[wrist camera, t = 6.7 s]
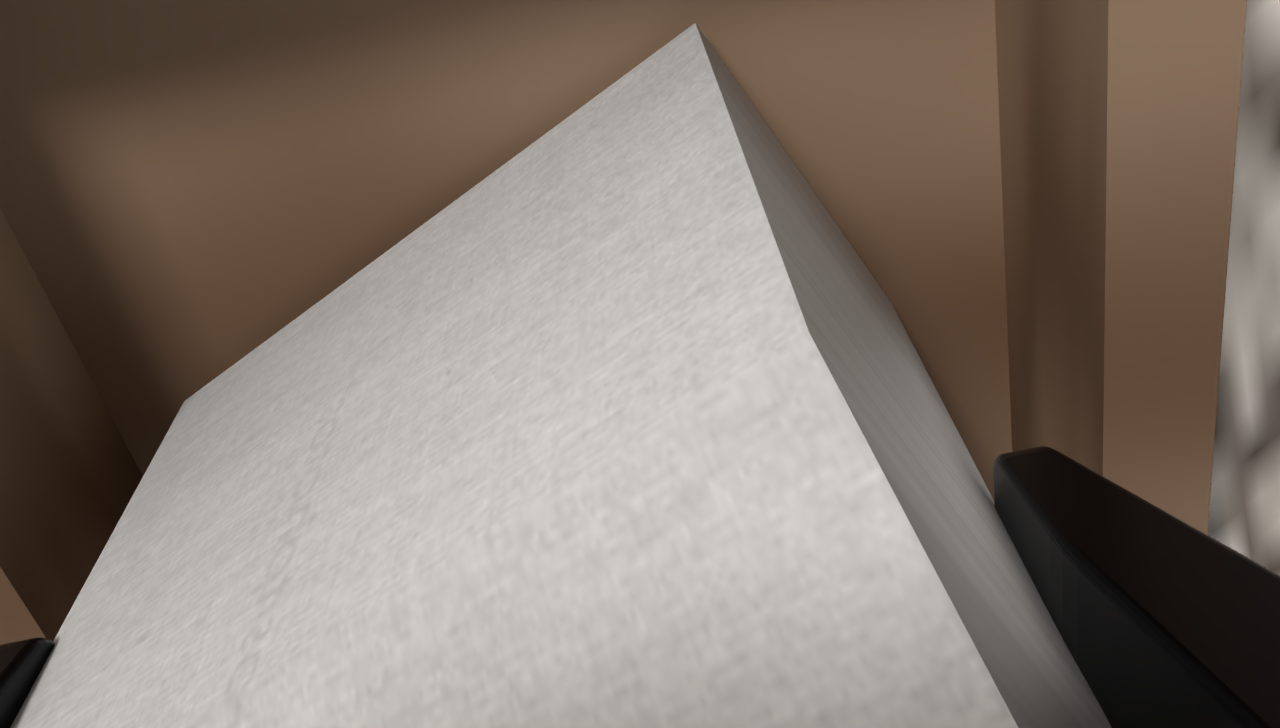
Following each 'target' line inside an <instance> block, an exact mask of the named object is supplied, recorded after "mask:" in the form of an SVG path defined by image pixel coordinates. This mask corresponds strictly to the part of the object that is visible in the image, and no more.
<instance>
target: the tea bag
mask: <svg viewBox="0 0 1280 728" xmlns="http://www.w3.org/2000/svg"><path fill="white" fill-rule="evenodd" d="M53 642H54V643H55V646H54V648H53V650H52V651H51V653H50V655H49V657H48V659H47V661H46V663H45V664H44V666H43V668H42V670H41V672H40V674H39V675H38V677H37V679H36V681H35V683H34V685H33V687H32V688H31V690H30V692H29V694H28V696H27V698H26V699H25V701H24V703H23V705H22V707H21V709H20V711H19V712H18V714H17V716H16V718H15V720H14V722H13V723H12V725H11V727H10V728H1112V727H1111V725H1110V723H1109V721H1108V719H1107V718H1106V716H1105V714H1104V712H1103V710H1102V708H1101V706H1100V704H1099V703H1098V701H1097V699H1096V697H1095V695H1094V694H1093V692H1092V690H1091V688H1090V687H1089V685H1088V683H1087V681H1086V679H1085V678H1084V676H1083V674H1082V672H1081V671H1080V669H1079V667H1078V665H1077V663H1076V662H1075V660H1074V658H1073V656H1072V654H1071V653H1070V651H1069V649H1068V647H1067V645H1066V644H1065V642H1064V640H1063V638H1062V636H1061V634H1060V632H1059V631H1058V629H1057V627H1056V625H1055V623H1054V621H1053V619H1052V617H1051V615H1050V613H1049V612H1048V610H1047V608H1046V606H1045V604H1044V602H1043V600H1042V598H1041V596H1040V594H1039V592H1038V590H1037V588H1036V586H1035V584H1034V582H1033V580H1032V579H1031V577H1030V575H1029V573H1028V571H1027V569H1026V567H1025V565H1024V563H1023V561H1022V559H1021V557H1020V555H1019V553H1018V551H1017V549H1016V548H1015V546H1014V544H1013V542H1012V540H1011V538H1010V536H1009V534H1008V532H1007V530H1006V528H1005V526H1004V524H1003V522H1002V520H1001V518H1000V516H999V515H998V513H997V511H996V509H995V505H994V500H993V498H992V496H991V494H990V492H989V490H988V488H987V486H986V484H985V482H984V480H983V479H982V477H981V475H980V473H979V471H978V469H977V467H976V465H975V463H974V461H973V459H972V457H971V455H970V454H969V452H968V450H967V448H966V446H965V444H964V442H963V440H962V438H961V436H960V434H959V432H958V430H957V428H956V427H955V425H954V423H953V421H952V419H951V417H950V415H949V413H948V411H947V409H946V407H945V405H944V403H943V401H942V400H941V398H940V396H939V394H938V392H937V390H936V388H935V386H934V384H933V382H932V380H931V378H930V376H929V374H928V373H927V371H926V369H925V367H924V365H923V363H922V361H921V359H920V357H919V355H918V353H917V351H916V349H915V347H914V346H913V344H912V342H911V340H910V338H909V336H908V334H907V332H906V330H905V328H904V326H903V324H902V322H901V321H900V319H899V317H898V315H897V313H896V311H895V309H894V307H893V305H892V303H891V302H890V300H889V299H888V297H887V296H886V294H885V293H884V292H883V290H882V289H881V287H880V286H879V284H878V283H877V282H876V280H875V279H874V277H873V276H872V274H871V273H870V272H869V270H868V269H867V267H866V266H865V264H864V263H863V262H862V260H861V259H860V257H859V256H858V254H857V253H856V252H855V250H854V249H853V247H852V246H851V244H850V243H849V242H848V240H847V239H846V237H845V236H844V234H843V233H842V232H841V230H840V229H839V227H838V226H837V224H836V223H835V222H834V220H833V219H832V217H831V216H830V214H829V213H828V212H827V210H826V209H825V207H824V206H823V204H822V203H821V202H820V200H819V199H818V197H817V196H816V194H815V193H814V192H813V190H812V189H811V187H810V186H809V184H808V183H807V182H806V180H805V179H804V177H803V176H802V174H801V173H800V172H799V170H798V169H797V167H796V166H795V164H794V163H793V161H792V160H791V159H790V157H789V156H788V154H787V153H786V151H785V150H784V149H783V147H782V146H781V144H780V143H779V141H778V140H777V139H776V137H775V136H774V134H773V133H772V131H771V130H770V129H769V127H768V126H767V124H766V123H765V121H764V120H763V119H762V117H761V116H760V114H759V113H758V111H757V110H756V109H755V107H754V106H753V104H752V103H751V101H750V100H749V99H748V97H747V96H746V94H745V93H744V91H743V90H742V89H741V87H740V86H739V84H738V83H737V81H736V80H735V79H734V77H733V76H732V74H731V73H730V71H729V70H728V69H727V67H726V66H725V64H724V63H723V61H722V60H721V59H720V57H719V56H718V54H717V53H716V51H715V50H714V49H713V47H712V46H711V44H710V43H709V41H708V40H707V39H706V37H705V36H704V34H703V33H702V31H701V30H700V29H699V27H698V26H697V24H696V23H694V24H693V25H692V26H690V27H689V28H688V29H686V30H685V31H683V32H682V33H681V34H679V35H678V36H677V37H675V38H674V39H673V40H671V41H670V42H669V43H667V44H666V45H665V46H663V47H662V48H661V49H659V50H658V51H656V52H655V53H654V54H652V55H651V56H650V57H648V58H647V59H646V60H644V61H643V62H642V63H640V64H639V65H638V66H636V67H635V68H634V69H632V70H631V71H629V72H628V73H627V74H625V75H624V76H623V77H621V78H620V79H619V80H617V81H616V82H615V83H613V84H612V85H611V86H609V87H608V88H607V89H605V90H604V91H602V92H601V93H600V94H598V95H597V96H596V97H594V98H593V99H592V100H590V101H589V102H588V103H586V104H585V105H584V106H582V107H581V108H580V109H578V110H577V111H575V112H574V113H573V114H571V115H570V116H569V117H567V118H566V119H565V120H563V121H562V122H561V123H559V124H558V125H557V126H555V127H554V128H552V129H551V130H550V131H548V132H547V133H546V134H544V135H543V136H542V137H540V138H539V139H538V140H536V141H535V142H534V143H532V144H531V145H530V146H528V147H527V148H525V149H524V150H523V151H521V152H520V153H519V154H517V155H516V156H515V157H513V158H512V159H511V160H509V161H508V162H507V163H505V164H504V165H503V166H501V167H500V168H498V169H497V170H496V171H494V172H493V173H492V174H490V175H489V176H488V177H486V178H485V179H484V180H482V181H481V182H480V183H478V184H477V185H476V186H474V187H473V188H471V189H470V190H469V191H467V192H466V193H465V194H463V195H462V196H461V197H459V198H458V199H457V200H455V201H454V202H453V203H451V204H450V205H449V206H447V207H446V208H444V209H443V210H442V211H440V212H439V213H438V214H436V215H435V216H434V217H432V218H431V219H430V220H428V221H427V222H426V223H424V224H423V225H422V226H420V227H419V228H417V229H416V230H415V231H413V232H412V233H411V234H409V235H408V236H407V237H405V238H404V239H403V240H401V241H400V242H399V243H397V244H396V245H394V246H393V247H392V248H390V249H389V250H388V251H386V252H385V253H384V254H382V255H381V256H380V257H378V258H377V259H376V260H374V261H373V262H372V263H370V264H369V265H367V266H366V267H365V268H363V269H362V270H361V271H359V272H358V273H357V274H355V275H354V276H353V277H351V278H350V279H349V280H347V281H346V282H345V283H343V284H342V285H340V286H339V287H338V288H336V289H335V290H334V291H332V292H331V293H330V294H328V295H327V296H326V297H324V298H323V299H322V300H320V301H319V302H318V303H316V304H315V305H313V306H312V307H311V308H309V309H308V310H307V311H305V312H304V313H303V314H301V315H300V316H299V317H297V318H296V319H295V320H293V321H292V322H291V323H289V324H288V325H286V326H285V327H284V328H282V329H281V330H280V331H278V332H277V333H276V334H274V335H273V336H272V337H270V338H269V339H268V340H266V341H265V342H264V343H262V344H261V345H259V346H258V347H257V348H255V349H254V350H253V351H251V352H250V353H249V354H247V355H246V356H245V357H243V358H242V359H241V360H239V361H238V362H236V363H235V364H234V365H232V366H231V367H230V368H228V369H227V370H226V371H224V372H223V373H222V374H220V375H219V376H218V377H216V378H215V379H214V380H212V381H211V382H209V383H208V384H207V385H205V386H204V387H203V388H201V389H200V390H199V391H197V392H196V393H195V394H193V395H192V396H191V397H189V398H188V399H187V400H185V401H184V403H183V404H182V406H181V408H180V410H179V412H178V414H177V415H176V417H175V419H174V421H173V423H172V425H171V426H170V428H169V430H168V432H167V434H166V436H165V437H164V439H163V441H162V443H161V445H160V446H159V448H158V450H157V452H156V454H155V456H154V457H153V459H152V461H151V463H150V465H149V467H148V468H147V470H146V472H145V474H144V476H143V478H142V479H141V481H140V483H139V485H138V487H137V489H136V490H135V492H134V494H133V496H132V498H131V500H130V501H129V503H128V505H127V507H126V509H125V511H124V512H123V514H122V516H121V518H120V520H119V522H118V523H117V525H116V527H115V529H114V531H113V533H112V534H111V536H110V538H109V540H108V542H107V544H106V545H105V547H104V549H103V551H102V553H101V555H100V556H99V558H98V560H97V562H96V564H95V566H94V567H93V569H92V571H91V573H90V575H89V577H88V578H87V580H86V582H85V584H84V586H83V588H82V589H81V591H80V593H79V595H78V597H77V599H76V600H75V602H74V604H73V606H72V608H71V610H70V611H69V613H68V615H67V617H66V619H65V621H64V622H63V624H62V626H61V628H60V630H59V632H58V633H57V635H56V637H55V639H54V641H53Z"/></svg>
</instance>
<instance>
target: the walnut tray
mask: <svg viewBox="0 0 1280 728" xmlns="http://www.w3.org/2000/svg"><path fill="white" fill-rule="evenodd" d="M1246 5H1247V0H0V645H2V644H6V643H11V642H16V641H22V640H27V639H32V638H47V639H49V640H51V641H52V642H53V641H54V639H55V637H56V635H57V633H58V632H59V630H60V628H61V626H62V624H63V622H64V621H65V619H66V617H67V615H68V613H69V611H70V610H71V608H72V606H73V604H74V602H75V600H76V599H77V597H78V595H79V593H80V591H81V589H82V588H83V586H84V584H85V582H86V580H87V578H88V577H89V575H90V573H91V571H92V569H93V567H94V566H95V564H96V562H97V560H98V558H99V556H100V555H101V553H102V551H103V549H104V547H105V545H106V544H107V542H108V540H109V538H110V536H111V534H112V533H113V531H114V529H115V527H116V525H117V523H118V522H119V520H120V518H121V516H122V514H123V512H124V511H125V509H126V507H127V505H128V503H129V501H130V500H131V498H132V496H133V494H134V492H135V490H136V489H137V487H138V485H139V483H140V481H141V479H142V478H143V476H144V474H145V472H146V470H147V468H148V467H149V465H150V463H151V461H152V459H153V457H154V456H155V454H156V452H157V450H158V448H159V446H160V445H161V443H162V441H163V439H164V437H165V436H166V434H167V432H168V430H169V428H170V426H171V425H172V423H173V421H174V419H175V417H176V415H177V414H178V412H179V410H180V408H181V406H182V404H183V403H184V401H185V400H187V399H188V398H189V397H191V396H192V395H193V394H195V393H196V392H197V391H199V390H200V389H201V388H203V387H204V386H205V385H207V384H208V383H209V382H211V381H212V380H214V379H215V378H216V377H218V376H219V375H220V374H222V373H223V372H224V371H226V370H227V369H228V368H230V367H231V366H232V365H234V364H235V363H236V362H238V361H239V360H241V359H242V358H243V357H245V356H246V355H247V354H249V353H250V352H251V351H253V350H254V349H255V348H257V347H258V346H259V345H261V344H262V343H264V342H265V341H266V340H268V339H269V338H270V337H272V336H273V335H274V334H276V333H277V332H278V331H280V330H281V329H282V328H284V327H285V326H286V325H288V324H289V323H291V322H292V321H293V320H295V319H296V318H297V317H299V316H300V315H301V314H303V313H304V312H305V311H307V310H308V309H309V308H311V307H312V306H313V305H315V304H316V303H318V302H319V301H320V300H322V299H323V298H324V297H326V296H327V295H328V294H330V293H331V292H332V291H334V290H335V289H336V288H338V287H339V286H340V285H342V284H343V283H345V282H346V281H347V280H349V279H350V278H351V277H353V276H354V275H355V274H357V273H358V272H359V271H361V270H362V269H363V268H365V267H366V266H367V265H369V264H370V263H372V262H373V261H374V260H376V259H377V258H378V257H380V256H381V255H382V254H384V253H385V252H386V251H388V250H389V249H390V248H392V247H393V246H394V245H396V244H397V243H399V242H400V241H401V240H403V239H404V238H405V237H407V236H408V235H409V234H411V233H412V232H413V231H415V230H416V229H417V228H419V227H420V226H422V225H423V224H424V223H426V222H427V221H428V220H430V219H431V218H432V217H434V216H435V215H436V214H438V213H439V212H440V211H442V210H443V209H444V208H446V207H447V206H449V205H450V204H451V203H453V202H454V201H455V200H457V199H458V198H459V197H461V196H462V195H463V194H465V193H466V192H467V191H469V190H470V189H471V188H473V187H474V186H476V185H477V184H478V183H480V182H481V181H482V180H484V179H485V178H486V177H488V176H489V175H490V174H492V173H493V172H494V171H496V170H497V169H498V168H500V167H501V166H503V165H504V164H505V163H507V162H508V161H509V160H511V159H512V158H513V157H515V156H516V155H517V154H519V153H520V152H521V151H523V150H524V149H525V148H527V147H528V146H530V145H531V144H532V143H534V142H535V141H536V140H538V139H539V138H540V137H542V136H543V135H544V134H546V133H547V132H548V131H550V130H551V129H552V128H554V127H555V126H557V125H558V124H559V123H561V122H562V121H563V120H565V119H566V118H567V117H569V116H570V115H571V114H573V113H574V112H575V111H577V110H578V109H580V108H581V107H582V106H584V105H585V104H586V103H588V102H589V101H590V100H592V99H593V98H594V97H596V96H597V95H598V94H600V93H601V92H602V91H604V90H605V89H607V88H608V87H609V86H611V85H612V84H613V83H615V82H616V81H617V80H619V79H620V78H621V77H623V76H624V75H625V74H627V73H628V72H629V71H631V70H632V69H634V68H635V67H636V66H638V65H639V64H640V63H642V62H643V61H644V60H646V59H647V58H648V57H650V56H651V55H652V54H654V53H655V52H656V51H658V50H659V49H661V48H662V47H663V46H665V45H666V44H667V43H669V42H670V41H671V40H673V39H674V38H675V37H677V36H678V35H679V34H681V33H682V32H683V31H685V30H686V29H688V28H689V27H690V26H692V25H693V24H694V23H696V24H697V26H698V27H699V29H700V30H701V31H702V33H703V34H704V36H705V37H706V39H707V40H708V41H709V43H710V44H711V46H712V47H713V49H714V50H715V51H716V53H717V54H718V56H719V57H720V59H721V60H722V61H723V63H724V64H725V66H726V67H727V69H728V70H729V71H730V73H731V74H732V76H733V77H734V79H735V80H736V81H737V83H738V84H739V86H740V87H741V89H742V90H743V91H744V93H745V94H746V96H747V97H748V99H749V100H750V101H751V103H752V104H753V106H754V107H755V109H756V110H757V111H758V113H759V114H760V116H761V117H762V119H763V120H764V121H765V123H766V124H767V126H768V127H769V129H770V130H771V131H772V133H773V134H774V136H775V137H776V139H777V140H778V141H779V143H780V144H781V146H782V147H783V149H784V150H785V151H786V153H787V154H788V156H789V157H790V159H791V160H792V161H793V163H794V164H795V166H796V167H797V169H798V170H799V172H800V173H801V174H802V176H803V177H804V179H805V180H806V182H807V183H808V184H809V186H810V187H811V189H812V190H813V192H814V193H815V194H816V196H817V197H818V199H819V200H820V202H821V203H822V204H823V206H824V207H825V209H826V210H827V212H828V213H829V214H830V216H831V217H832V219H833V220H834V222H835V223H836V224H837V226H838V227H839V229H840V230H841V232H842V233H843V234H844V236H845V237H846V239H847V240H848V242H849V243H850V244H851V246H852V247H853V249H854V250H855V252H856V253H857V254H858V256H859V257H860V259H861V260H862V262H863V263H864V264H865V266H866V267H867V269H868V270H869V272H870V273H871V274H872V276H873V277H874V279H875V280H876V282H877V283H878V284H879V286H880V287H881V289H882V290H883V292H884V293H885V294H886V296H887V297H888V299H889V300H890V302H891V303H892V305H893V307H894V309H895V311H896V313H897V315H898V317H899V319H900V321H901V322H902V324H903V326H904V328H905V330H906V332H907V334H908V336H909V338H910V340H911V342H912V344H913V346H914V347H915V349H916V351H917V353H918V355H919V357H920V359H921V361H922V363H923V365H924V367H925V369H926V371H927V373H928V374H929V376H930V378H931V380H932V382H933V384H934V386H935V388H936V390H937V392H938V394H939V396H940V398H941V400H942V401H943V403H944V405H945V407H946V409H947V411H948V413H949V415H950V417H951V419H952V421H953V423H954V425H955V427H956V428H957V430H958V432H959V434H960V436H961V438H962V440H963V442H964V444H965V446H966V448H967V450H968V452H969V454H970V455H971V457H972V459H973V461H974V463H975V465H976V467H977V469H978V471H979V473H980V475H981V477H982V479H983V480H984V482H985V484H986V486H987V488H988V490H989V492H990V494H991V496H992V498H993V500H994V485H993V466H994V462H995V460H996V458H997V457H998V456H999V455H1001V454H1003V453H1009V452H1014V451H1019V450H1024V449H1029V448H1035V447H1041V446H1046V447H1050V448H1053V449H1055V450H1057V451H1059V452H1060V453H1062V454H1064V455H1066V456H1067V457H1069V458H1071V459H1073V460H1075V461H1076V462H1078V463H1080V464H1082V465H1083V466H1085V467H1087V468H1089V469H1091V470H1092V471H1094V472H1096V473H1098V474H1100V475H1101V476H1103V477H1105V478H1107V479H1108V480H1110V481H1112V482H1114V483H1116V484H1117V485H1119V486H1121V487H1123V488H1124V489H1126V490H1128V491H1130V492H1132V493H1133V494H1135V495H1137V496H1139V497H1140V498H1142V499H1144V500H1146V501H1148V502H1149V503H1151V504H1153V505H1155V506H1157V507H1158V508H1160V509H1162V510H1164V511H1165V512H1167V513H1169V514H1171V515H1173V516H1174V517H1176V518H1178V519H1180V520H1181V521H1183V522H1185V523H1187V524H1189V525H1190V526H1192V527H1194V528H1196V529H1197V530H1199V531H1201V532H1203V533H1205V534H1206V535H1207V533H1208V519H1209V505H1210V492H1211V478H1212V465H1213V451H1214V438H1215V424H1216V411H1217V397H1218V384H1219V370H1220V357H1221V343H1222V330H1223V316H1224V303H1225V289H1226V276H1227V262H1228V249H1229V235H1230V222H1231V208H1232V194H1233V181H1234V167H1235V154H1236V140H1237V127H1238V113H1239V100H1240V86H1241V73H1242V59H1243V46H1244V32H1245V19H1246Z"/></svg>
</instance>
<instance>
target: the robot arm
mask: <svg viewBox="0 0 1280 728" xmlns="http://www.w3.org/2000/svg"><path fill="white" fill-rule="evenodd" d="M993 485H994V505H995V509H996V511H997V513H998V515H999V516H1000V518H1001V520H1002V522H1003V524H1004V526H1005V528H1006V530H1007V532H1008V534H1009V536H1010V538H1011V540H1012V542H1013V544H1014V546H1015V548H1016V549H1017V551H1018V553H1019V555H1020V557H1021V559H1022V561H1023V563H1024V565H1025V567H1026V569H1027V571H1028V573H1029V575H1030V577H1031V579H1032V580H1033V582H1034V584H1035V586H1036V588H1037V590H1038V592H1039V594H1040V596H1041V598H1042V600H1043V602H1044V604H1045V606H1046V608H1047V610H1048V612H1049V613H1050V615H1051V617H1052V619H1053V621H1054V623H1055V625H1056V627H1057V629H1058V631H1059V632H1060V634H1061V636H1062V638H1063V640H1064V642H1065V644H1066V645H1067V647H1068V649H1069V651H1070V653H1071V654H1072V656H1073V658H1074V660H1075V662H1076V663H1077V665H1078V667H1079V669H1080V671H1081V672H1082V674H1083V676H1084V678H1085V679H1086V681H1087V683H1088V685H1089V687H1090V688H1091V690H1092V692H1093V694H1094V695H1095V697H1096V699H1097V701H1098V703H1099V704H1100V706H1101V708H1102V710H1103V712H1104V714H1105V716H1106V718H1107V719H1108V721H1109V723H1110V725H1111V727H1112V728H1280V576H1279V575H1278V574H1276V573H1274V572H1272V571H1270V570H1269V569H1267V568H1265V567H1263V566H1262V565H1260V564H1258V563H1256V562H1254V561H1253V560H1251V559H1249V558H1247V557H1246V556H1244V555H1242V554H1240V553H1238V552H1237V551H1235V550H1233V549H1231V548H1230V547H1228V546H1226V545H1224V544H1222V543H1221V542H1219V541H1217V540H1215V539H1214V538H1212V537H1210V536H1208V535H1206V534H1205V533H1203V532H1201V531H1199V530H1197V529H1196V528H1194V527H1192V526H1190V525H1189V524H1187V523H1185V522H1183V521H1181V520H1180V519H1178V518H1176V517H1174V516H1173V515H1171V514H1169V513H1167V512H1165V511H1164V510H1162V509H1160V508H1158V507H1157V506H1155V505H1153V504H1151V503H1149V502H1148V501H1146V500H1144V499H1142V498H1140V497H1139V496H1137V495H1135V494H1133V493H1132V492H1130V491H1128V490H1126V489H1124V488H1123V487H1121V486H1119V485H1117V484H1116V483H1114V482H1112V481H1110V480H1108V479H1107V478H1105V477H1103V476H1101V475H1100V474H1098V473H1096V472H1094V471H1092V470H1091V469H1089V468H1087V467H1085V466H1083V465H1082V464H1080V463H1078V462H1076V461H1075V460H1073V459H1071V458H1069V457H1067V456H1066V455H1064V454H1062V453H1060V452H1059V451H1057V450H1055V449H1053V448H1050V447H1046V446H1041V447H1035V448H1029V449H1024V450H1019V451H1014V452H1009V453H1003V454H1001V455H999V456H998V457H997V458H996V460H995V462H994V466H993ZM54 646H55V643H54V642H52V641H51V640H49V639H47V638H32V639H27V640H22V641H16V642H11V643H6V644H2V645H0V728H10V727H11V725H12V723H13V722H14V720H15V718H16V716H17V714H18V712H19V711H20V709H21V707H22V705H23V703H24V701H25V699H26V698H27V696H28V694H29V692H30V690H31V688H32V687H33V685H34V683H35V681H36V679H37V677H38V675H39V674H40V672H41V670H42V668H43V666H44V664H45V663H46V661H47V659H48V657H49V655H50V653H51V651H52V650H53V648H54Z"/></svg>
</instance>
